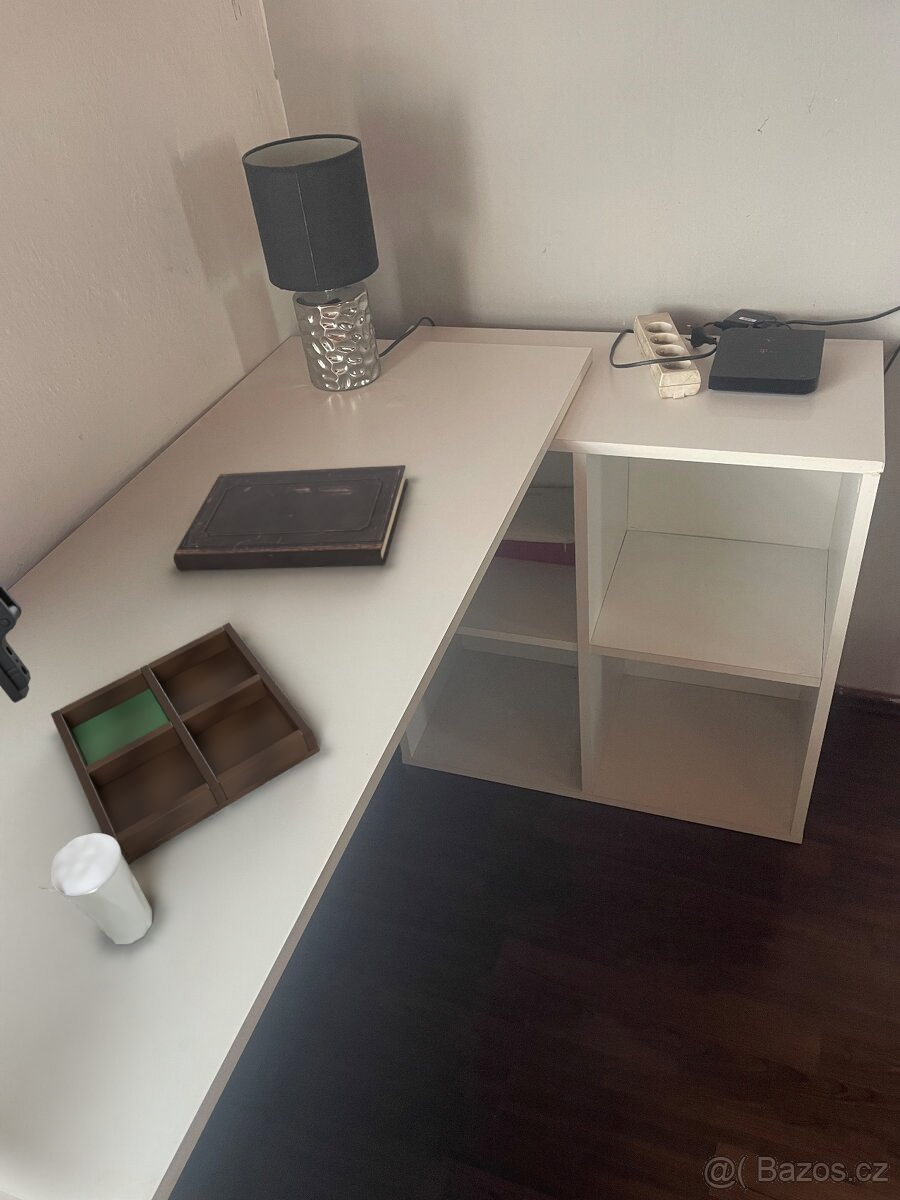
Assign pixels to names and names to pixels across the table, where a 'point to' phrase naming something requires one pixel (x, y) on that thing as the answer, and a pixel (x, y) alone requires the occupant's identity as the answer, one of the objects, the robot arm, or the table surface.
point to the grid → (181, 740)
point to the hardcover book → (295, 519)
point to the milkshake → (102, 886)
